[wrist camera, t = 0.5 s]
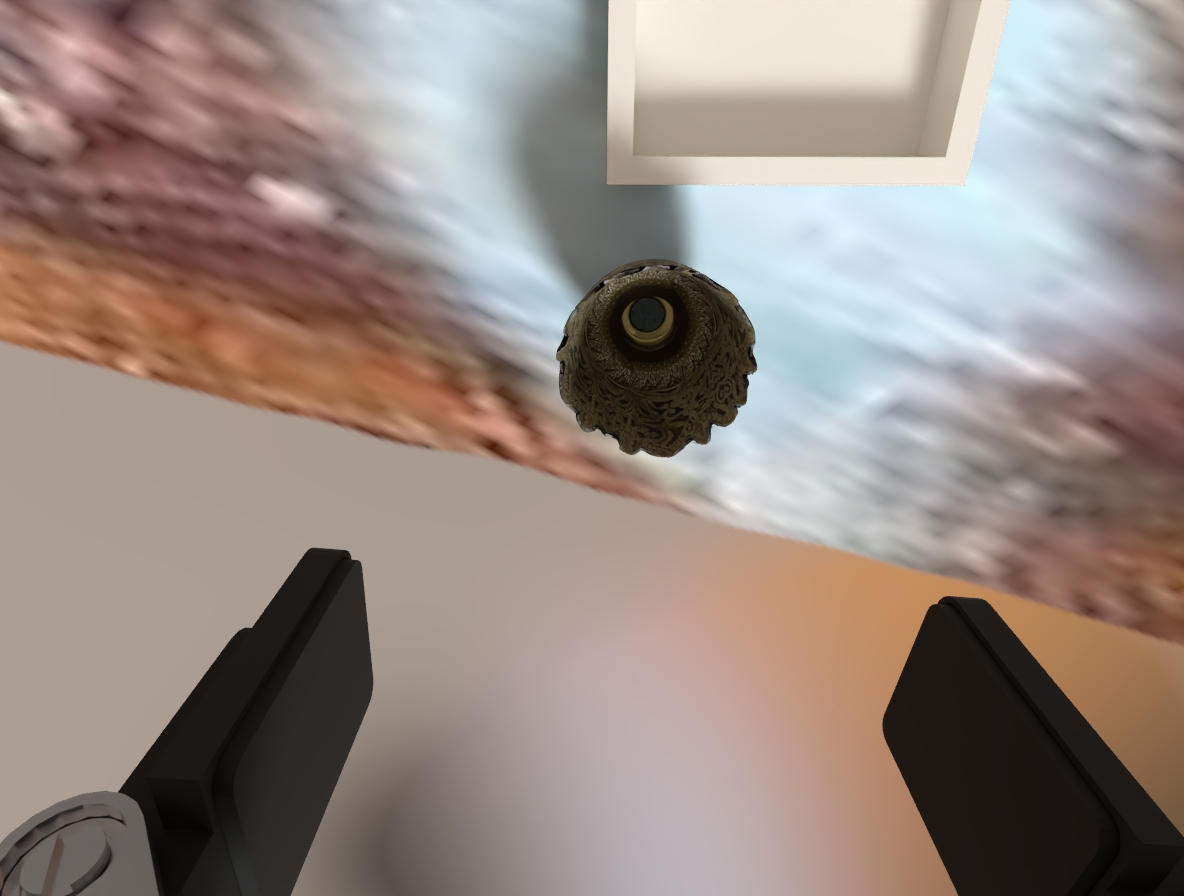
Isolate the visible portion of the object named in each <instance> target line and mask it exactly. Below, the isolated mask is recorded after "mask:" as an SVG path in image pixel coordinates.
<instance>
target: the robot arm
mask: <svg viewBox="0 0 1184 896" xmlns="http://www.w3.org/2000/svg"><path fill="white" fill-rule="evenodd" d="M372 690H373V672H372V663H371V653H370V642H369V633H368V622H367V612H366V603H365V592H364V583H363V573H362V565H361V562H360V561H358V560H352V559H351V555H350V553H349V552H348V551H346V550H335V549H323V548H311V549H309V550H308V551H307V552H306V553H305V554H304V556H303V557H302V559H301V560H300V561H299V563H298V564H297V566H296V567H295V568H294V570H293V571H292V573H291V574H290V575H289V577H288V578H287V580H286V581H285V582H284V584H283V585H282V587H281V588H280V589H279V591H278V592H277V594H276V595H275V597H274V598H273V599H272V601H271V602H270V603H269V605H268V606H267V608H266V609H265V610H264V612H263V613H262V615H261V616H260V617H259V619H258V620H257V622H256V623H255V624H254V626H253V627H252V628H244V629H242V630H240V631H238V632H237V633H236V634H235V636H233V638H232V639H231V640H230V641H229V642H228V644H227V645H226V647H225V648H224V649H223V651H222V652H221V653H220V655H219V656H218V657H217V659H216V660H215V662H214V663H213V664H212V665H211V667H210V668H209V670H208V671H207V672H206V674H205V675H204V676H203V678H202V679H201V680H200V682H199V683H198V684H197V686H196V687H195V689H194V690H193V691H192V693H191V694H190V695H189V697H188V698H187V699H186V701H185V702H184V703H183V705H182V706H181V707H180V709H179V710H178V712H177V713H176V714H175V716H174V717H173V718H172V720H171V721H170V722H169V724H168V725H167V727H166V728H165V729H164V730H163V732H162V733H161V734H160V736H159V737H158V739H157V740H156V741H155V743H154V744H153V745H152V747H151V748H150V749H149V751H148V752H147V753H146V755H145V756H144V758H143V759H142V760H141V761H140V763H139V764H138V766H137V767H136V769H135V770H134V771H133V772H132V774H131V775H130V776H129V778H128V779H127V780H126V782H125V783H124V784H123V786H122V787H121V789H120V790H119V791H118V793H116V792H109V791H101V792H93V793H86V794H81V795H78V796H75V797H72V798H69V799H66V800H63V801H60V802H58V803H56V804H54V805H52V806H51V807H49V808H47V809H45V810H43V811H41V812H39V813H37V814H36V815H34V816H32V817H31V818H30V819H28V820H27V821H26V822H24V823H23V824H22V825H20V826H19V827H18V828H16V829H15V830H14V831H12V832H11V833H10V834H9V835H8V836H7V837H6V838H5V839H4V840H3V841H2V842H1V843H0V896H291V893H292V891H293V888H294V886H295V883H296V881H297V878H298V876H299V874H300V871H301V868H302V866H303V864H304V861H305V859H306V857H307V854H308V852H309V849H310V847H311V844H312V842H313V840H314V837H315V834H316V832H317V830H318V827H319V825H320V822H321V820H322V818H323V815H324V813H325V810H326V808H327V805H328V803H329V801H330V798H331V796H332V793H333V791H334V788H335V786H336V784H337V781H338V779H339V776H340V774H341V771H342V769H343V766H344V764H345V761H346V759H347V757H348V754H349V752H350V749H351V747H352V744H353V742H354V740H355V737H356V735H357V732H358V730H359V728H360V725H361V723H362V720H363V718H364V715H365V713H366V710H367V708H368V705H369V703H370V700H371V696H372ZM883 733H884V737H885V740H886V742H887V745H888V747H889V749H890V751H891V753H892V755H893V757H894V760H895V762H896V763H897V766H898V768H899V770H900V772H901V774H902V777H903V779H904V781H905V783H906V785H907V787H908V789H909V791H910V794H911V795H912V798H913V799H914V802H915V804H916V806H917V808H918V811H919V813H920V815H921V817H922V819H923V821H924V823H925V825H926V827H927V830H928V832H929V834H930V836H931V838H932V840H933V842H934V844H935V847H936V848H937V851H938V853H939V855H940V857H941V859H942V862H943V864H944V866H945V868H946V870H947V872H948V874H949V876H950V878H951V881H952V883H953V885H954V887H955V889H956V891H957V893H958V896H1184V837H1183V836H1182V835H1181V833H1180V832H1179V831H1178V830H1177V829H1176V827H1175V826H1174V825H1173V824H1172V823H1171V821H1170V820H1169V819H1168V818H1167V817H1166V815H1165V814H1164V813H1163V812H1162V811H1161V809H1160V808H1159V807H1158V806H1157V805H1156V803H1155V802H1154V801H1153V800H1152V799H1151V797H1150V796H1149V795H1148V794H1147V793H1146V791H1145V790H1144V789H1143V788H1142V787H1141V785H1140V784H1139V783H1138V782H1137V781H1136V779H1135V778H1134V777H1133V776H1132V775H1131V773H1130V772H1129V771H1128V770H1127V769H1126V767H1125V766H1124V765H1123V764H1122V763H1121V761H1120V760H1119V759H1118V758H1117V756H1116V755H1115V754H1114V753H1113V752H1112V750H1110V748H1109V747H1108V746H1107V745H1106V743H1105V742H1104V741H1103V740H1102V738H1101V737H1100V736H1099V735H1098V734H1097V732H1096V731H1095V730H1094V729H1093V728H1092V726H1091V725H1090V724H1089V723H1088V722H1087V720H1086V719H1085V718H1084V717H1083V716H1082V714H1081V713H1080V712H1079V711H1078V710H1077V708H1076V707H1075V706H1074V705H1073V704H1072V702H1071V701H1070V700H1069V699H1068V698H1067V696H1066V695H1065V694H1064V693H1063V692H1062V690H1061V689H1060V688H1059V687H1058V686H1057V684H1056V683H1055V682H1054V681H1053V680H1052V678H1051V677H1050V676H1049V675H1048V674H1047V672H1046V671H1045V670H1044V669H1043V668H1042V666H1041V665H1040V664H1039V663H1038V662H1037V660H1036V659H1035V658H1034V657H1033V656H1032V655H1031V653H1030V652H1029V651H1028V649H1027V648H1026V647H1025V646H1024V645H1023V643H1021V641H1020V640H1019V639H1018V637H1017V636H1016V635H1015V634H1014V633H1013V631H1012V630H1011V629H1010V628H1009V627H1008V625H1007V624H1006V623H1005V622H1004V621H1003V620H1002V618H1001V617H1000V616H999V615H998V614H997V612H996V611H995V610H994V609H993V607H992V606H991V605H990V604H989V603H988V602H987V601H985V600H983V599H979V598H965V597H953V596H946V597H943V598H942V599H940V600H939V602H938V604H934V605H932V606H930V607H929V609H928V611H927V613H926V615H925V618H924V620H923V623H922V625H921V628H920V630H919V632H918V635H917V637H916V640H915V642H914V644H913V647H912V649H911V652H910V654H909V656H908V659H907V661H906V664H905V666H904V668H903V671H902V673H901V676H900V678H899V680H898V683H897V685H896V688H895V690H894V692H893V695H892V697H891V700H890V702H889V704H888V707H887V709H886V712H885V714H884V718H883Z"/></svg>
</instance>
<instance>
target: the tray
mask: <svg viewBox="0 0 1184 896" xmlns="http://www.w3.org/2000/svg"><path fill="white" fill-rule="evenodd" d="M1010 2H1011V0H609V13H608V107H607V184H608V185H897V186H965V184H966V180H967V176H968V172H969V168H970V164H971V160H972V156H973V152H974V148H975V144H976V140H977V136H978V132H979V127H980V123H981V119H982V115H983V111H984V107H985V103H986V99H987V95H988V91H989V87H990V83H991V79H992V75H993V71H994V67H995V63H996V59H997V55H998V51H999V47H1000V43H1001V38H1002V34H1003V30H1004V26H1005V22H1006V18H1007V14H1008V10H1009V6H1010Z"/></svg>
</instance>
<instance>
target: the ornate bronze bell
mask: <svg viewBox="0 0 1184 896" xmlns="http://www.w3.org/2000/svg"><path fill="white" fill-rule="evenodd" d="M644 298H652V299H655V300H657V301H658V302H659V303H660V304H661V305H662V307H663V309H664V319H663V322H662V324H661V325H660V326H659V327H658V328H657V329H655V330H653V331H648V332H645V331H641V330H639V329H637V328H636V327H635V326H634V325H633V323H632V321H631V317H630V313H631V309H632V307H633V306H634V304H635V303H636V302H638V301H639V300H641V299H644ZM575 308H576V309H575V310H573V311H572V313H571V315H570V316H569V318H568V320H567V322H566V325H565V327H564V331H563V333H564V337H563V340H562V342H561V344H560V346H559V348H558V350H557V355H556V359H557V360H558V361H560V374H559V389H560V395H561V398H562V400H563V401H564V403H565V404H566V405H567V406H568V407H569V408H570V409H571V410H573V411H574V412H575V413H576V419H577V422H578V424H579V426H580V427H581V429H582V430H583V431H585V432H587V433H589V432H593V431H595V429H599V430H600V431H601V432H602V433H603V434H604V435H605V436H611V437H613V438H615V439H616V440H617V441H618V443H619V445H620V448H619V449H620V450H621V451H623V452H625V453H627V454H629V455H634V454H636V453H638V452H639V451H640V450H642V451H645V452H646V453H648V454H650V455H653V456H657V457H668V458H669V457H672V456H674V455H676V454H677V453H678V452H680V451H681V450H682V449H684V447H685V446H686V445H687V444H689V443H690V442H691V441H693V440H694V441H696V442H697V444H701V445H703V444H707V443H708V442H709V441H710V438H711V428H712V425H713V424H715V425H717V426H722V427H726V426H728V425H730V424H731V423H732V422H733V421H734V420H735V418H736V416H737V414H738V410H737V407H738V408H740V407H741V406H743V405H745V404H746V401H747V388H748V385H749V381H748V379H747V375H750V374H752V375H753V373H754V372H756V370H757V363H756V360H755V358H754V355H753V346H754V345H755V331H754V328H753V326H752V324H751V322H750V320H749V318H748V317H747V315H746V313H745V312H744V310H743V309H742V307H741V306H740V305H739V303H738V300H737V298H736V297H735V296H734V295H733V294H732V293H731V292H730V291H729V290H727V289H726V288H725V287H722V286H721V285H719V284H717V283H716V282H715V281H713V280H712V279H710V278H708V277H707V276H706V275H704V274H702V273H700V272H698V271H696V270H694V269H692V268H690V267H688V266H685V265H683V264H679V263H676V262H672V261H667V260H656V259H653V260H642V261H636V262H633V263H629V264H626V265H624V266H622V267H619V268H617V269H616V270H614V271H612V272H610V273H609V274H608V275H606V276H605V277H603V278H602V279H601V280H600V281H599V282H598V283H597V284H596V285H595V286H594V287H593V288H592V289H591V290H590V291H589V292H588V293H587V295H586V296H585V297H584V298H583V299H582V300H581V301H580V302H579V304H578V305H577V306H576V307H575ZM593 427H595V428H593ZM693 443H695V442H693Z"/></svg>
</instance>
